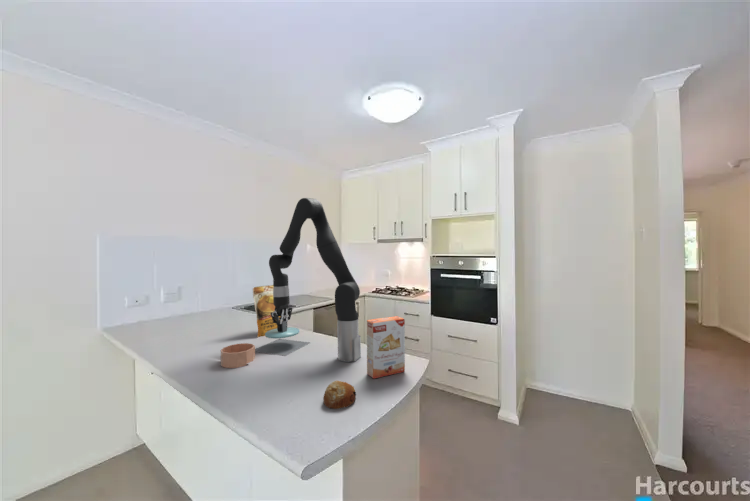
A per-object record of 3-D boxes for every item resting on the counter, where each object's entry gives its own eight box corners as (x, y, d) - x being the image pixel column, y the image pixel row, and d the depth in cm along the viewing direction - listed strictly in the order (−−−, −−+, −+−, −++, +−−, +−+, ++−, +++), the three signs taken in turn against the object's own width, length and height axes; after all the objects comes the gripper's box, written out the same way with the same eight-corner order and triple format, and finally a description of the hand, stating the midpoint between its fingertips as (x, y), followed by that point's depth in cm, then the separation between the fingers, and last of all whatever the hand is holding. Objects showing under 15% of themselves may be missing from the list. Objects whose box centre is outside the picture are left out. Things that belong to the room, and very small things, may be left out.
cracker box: (373, 380, 109) (372, 322, 109) (366, 374, 114) (365, 319, 114) (405, 372, 115) (405, 318, 115) (397, 366, 121) (396, 315, 121)
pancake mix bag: (250, 337, 165) (249, 286, 165) (280, 329, 180) (279, 283, 180) (256, 339, 161) (255, 287, 161) (287, 331, 176) (286, 284, 175)
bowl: (261, 358, 132) (260, 345, 132) (237, 369, 120) (237, 354, 120) (239, 355, 137) (238, 342, 137) (214, 365, 125) (214, 351, 125)
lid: (305, 330, 150) (305, 318, 150) (284, 339, 135) (284, 326, 135) (280, 328, 156) (280, 316, 156) (257, 336, 142) (257, 324, 142)
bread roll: (330, 404, 99) (319, 383, 99) (358, 390, 100) (347, 369, 99) (328, 422, 89) (316, 398, 89) (359, 405, 90) (347, 382, 90)
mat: (311, 344, 151) (311, 342, 151) (285, 357, 133) (285, 355, 133) (279, 340, 159) (279, 338, 159) (250, 352, 140) (250, 350, 140)
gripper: (277, 297, 138) (278, 334, 138) (296, 293, 151) (297, 327, 151) (264, 297, 141) (266, 333, 141) (284, 292, 154) (285, 326, 154)
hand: (282, 330), depth 146 cm, fingers closed on lid, 3 cm apart
